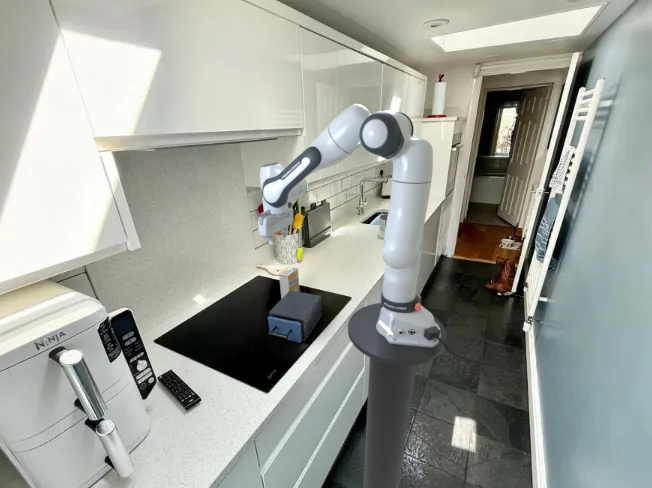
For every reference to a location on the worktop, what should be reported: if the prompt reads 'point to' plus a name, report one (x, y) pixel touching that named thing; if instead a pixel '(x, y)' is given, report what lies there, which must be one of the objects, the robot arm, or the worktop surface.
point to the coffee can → (382, 225)
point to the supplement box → (289, 281)
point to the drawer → (285, 328)
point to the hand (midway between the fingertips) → (278, 240)
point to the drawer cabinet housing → (300, 310)
